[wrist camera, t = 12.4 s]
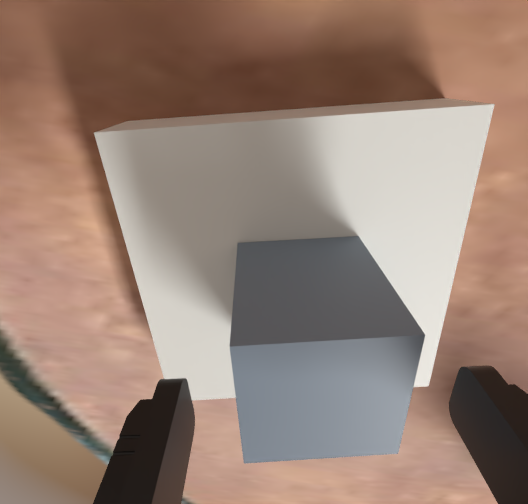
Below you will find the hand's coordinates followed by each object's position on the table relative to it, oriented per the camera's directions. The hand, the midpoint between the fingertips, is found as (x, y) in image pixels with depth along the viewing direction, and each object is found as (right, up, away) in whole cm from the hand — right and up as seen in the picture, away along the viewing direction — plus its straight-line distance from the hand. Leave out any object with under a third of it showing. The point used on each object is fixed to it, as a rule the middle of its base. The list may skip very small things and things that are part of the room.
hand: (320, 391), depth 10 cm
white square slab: (0, +5, +9) cm, 10 cm away
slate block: (0, +3, +5) cm, 6 cm away
